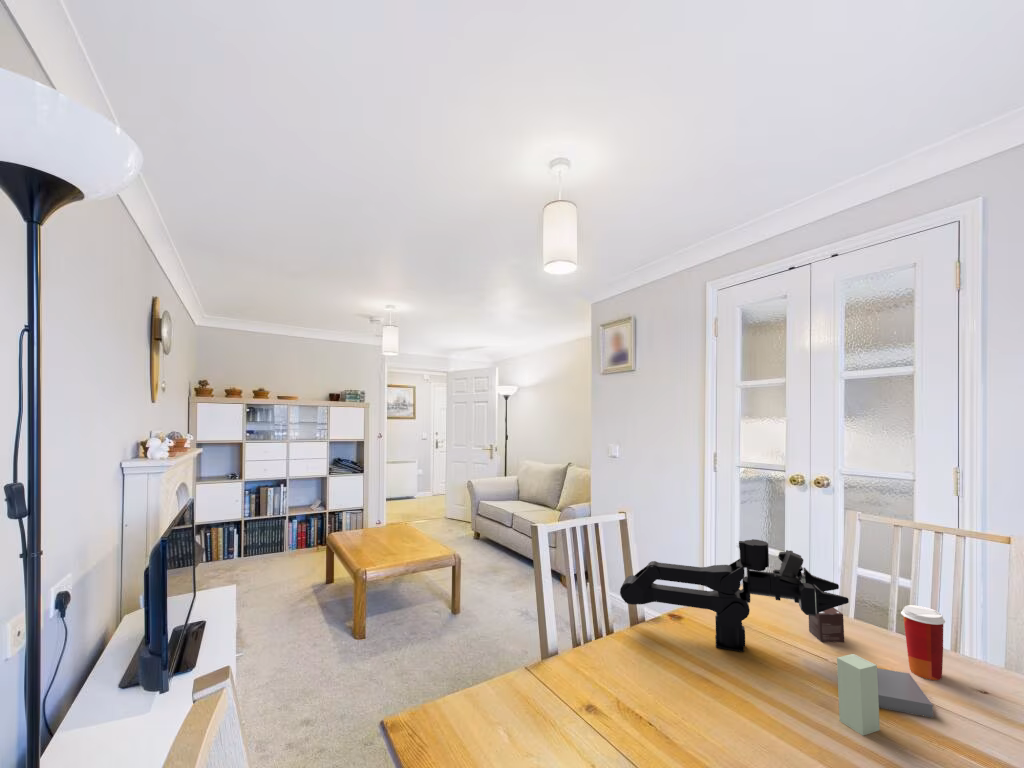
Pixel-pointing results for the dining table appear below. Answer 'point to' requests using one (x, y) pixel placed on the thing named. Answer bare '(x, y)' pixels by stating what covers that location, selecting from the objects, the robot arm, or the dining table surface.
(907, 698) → the slate slab
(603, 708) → the dining table surface
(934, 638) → the paper cup
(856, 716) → the sage block
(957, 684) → the dining table surface
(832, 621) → the box
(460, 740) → the dining table surface
